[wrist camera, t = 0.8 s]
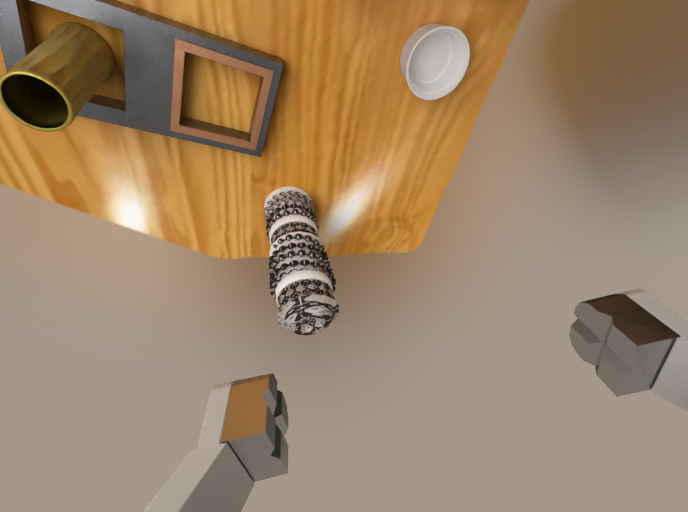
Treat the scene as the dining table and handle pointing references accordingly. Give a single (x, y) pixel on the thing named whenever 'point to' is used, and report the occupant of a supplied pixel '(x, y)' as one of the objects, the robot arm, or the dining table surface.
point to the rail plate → (155, 70)
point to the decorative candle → (298, 263)
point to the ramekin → (434, 60)
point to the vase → (57, 78)
